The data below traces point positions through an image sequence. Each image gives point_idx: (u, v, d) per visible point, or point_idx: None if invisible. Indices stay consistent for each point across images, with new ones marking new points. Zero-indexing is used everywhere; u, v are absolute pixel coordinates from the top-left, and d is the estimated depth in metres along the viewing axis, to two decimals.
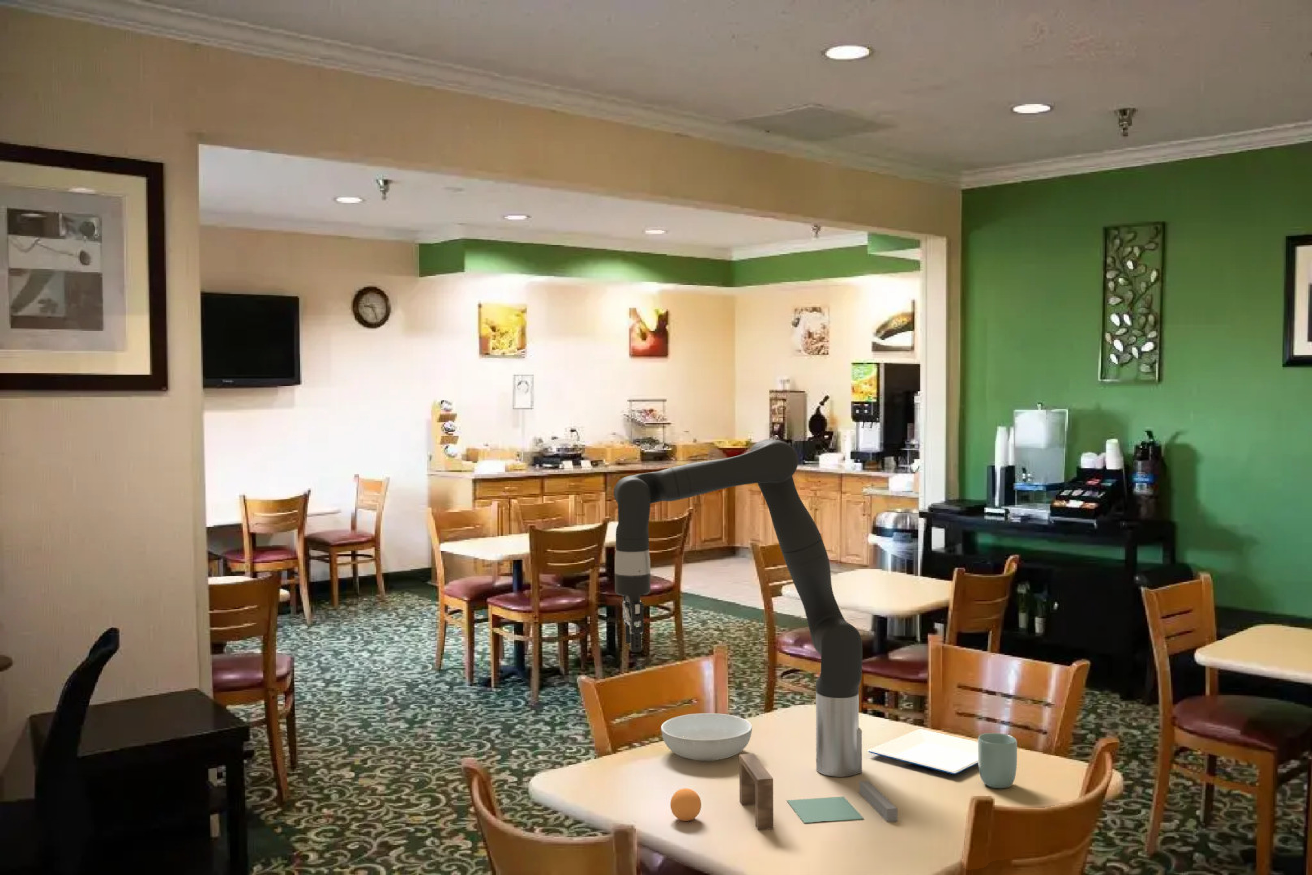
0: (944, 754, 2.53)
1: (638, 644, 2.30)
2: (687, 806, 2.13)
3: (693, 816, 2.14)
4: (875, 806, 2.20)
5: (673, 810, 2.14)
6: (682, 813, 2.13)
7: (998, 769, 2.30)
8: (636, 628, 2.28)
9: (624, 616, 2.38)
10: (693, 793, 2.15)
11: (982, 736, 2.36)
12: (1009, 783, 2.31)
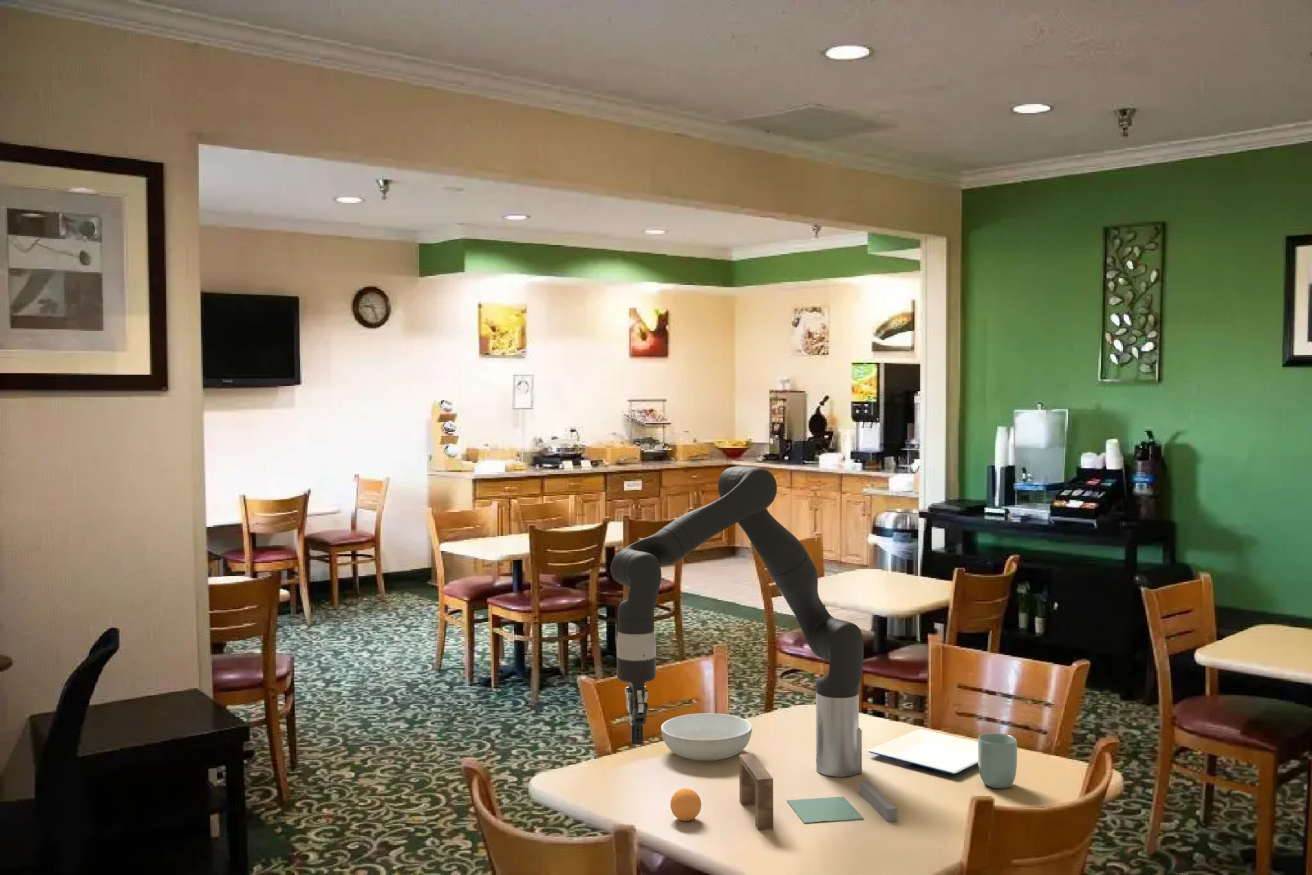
0: (944, 754, 2.53)
1: (639, 736, 2.13)
2: (687, 806, 2.13)
3: (693, 816, 2.14)
4: (875, 806, 2.20)
5: (673, 810, 2.14)
6: (682, 813, 2.13)
7: (998, 769, 2.30)
8: (637, 720, 2.11)
9: None
10: (693, 793, 2.15)
11: (982, 736, 2.36)
12: (1009, 783, 2.31)
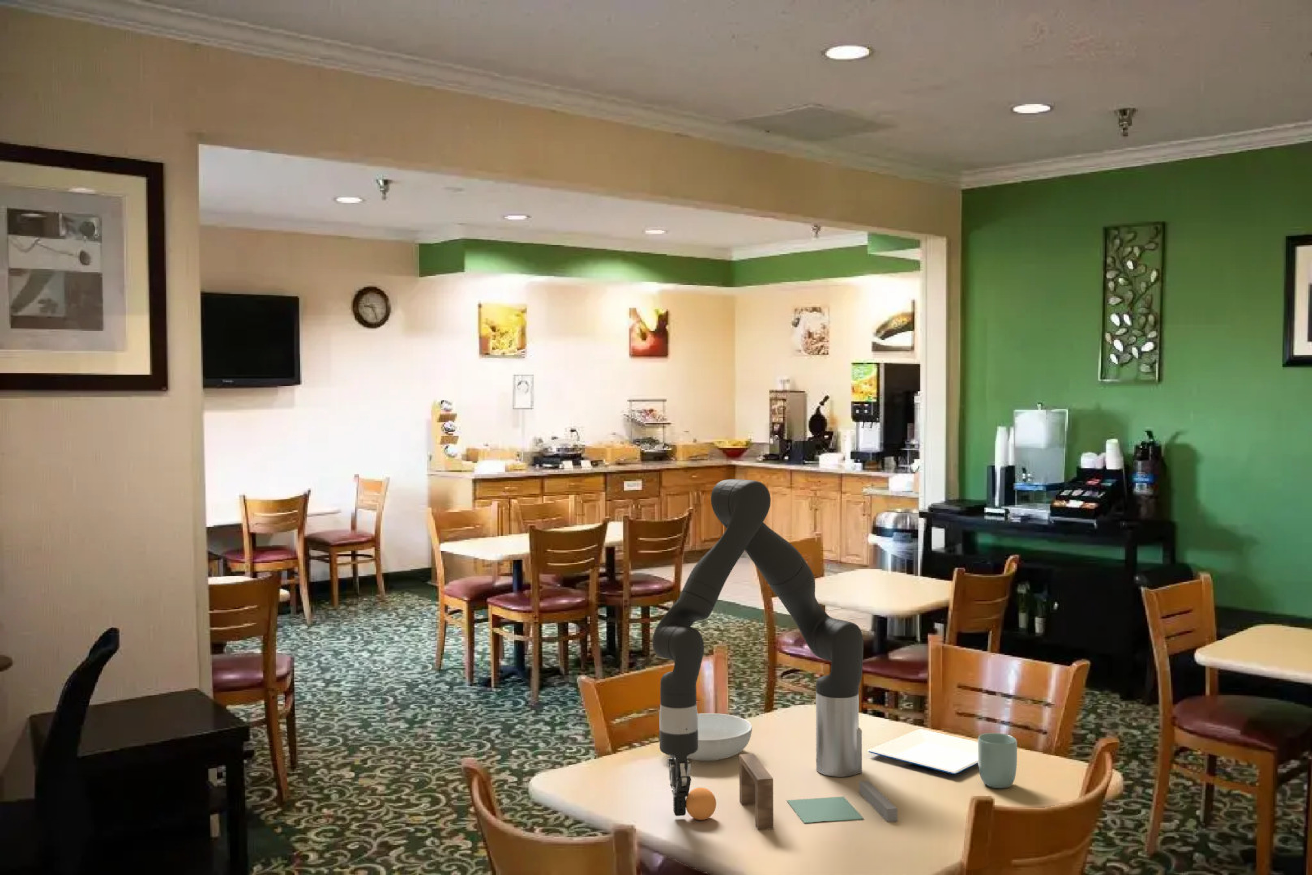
0: (944, 754, 2.53)
1: (682, 808, 2.15)
2: (704, 805, 2.13)
3: (701, 817, 2.14)
4: (875, 806, 2.20)
5: (689, 799, 2.15)
6: (696, 807, 2.14)
7: (998, 769, 2.30)
8: (680, 792, 2.13)
9: (671, 778, 2.17)
10: (714, 799, 2.16)
11: (982, 736, 2.36)
12: (1009, 783, 2.31)
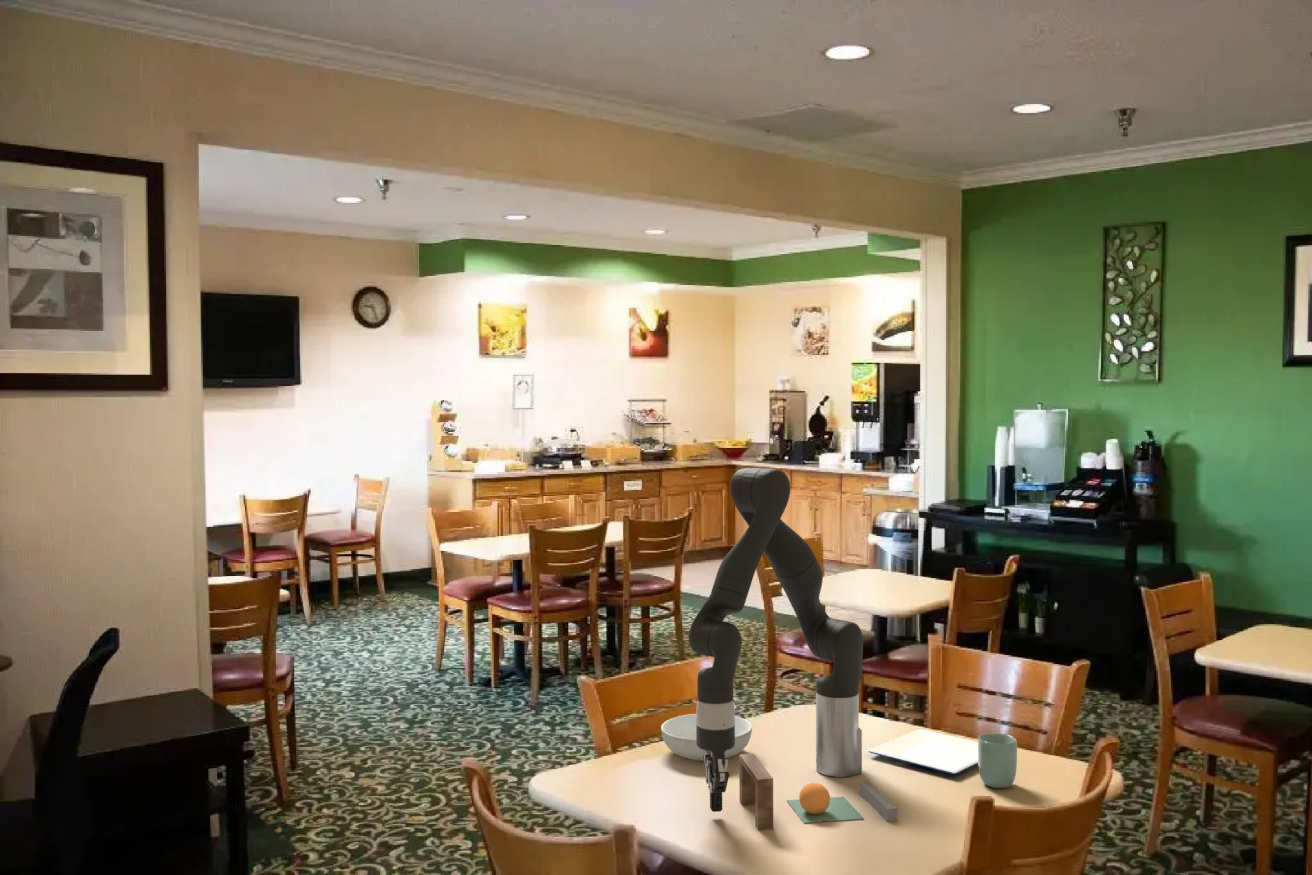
0: (944, 754, 2.53)
1: (719, 804, 2.16)
2: (822, 803, 2.16)
3: (809, 807, 2.16)
4: (875, 806, 2.20)
5: (815, 787, 2.17)
6: (815, 797, 2.16)
7: (998, 769, 2.30)
8: (717, 788, 2.14)
9: (707, 774, 2.17)
10: (826, 808, 2.18)
11: (982, 736, 2.36)
12: (1009, 783, 2.31)
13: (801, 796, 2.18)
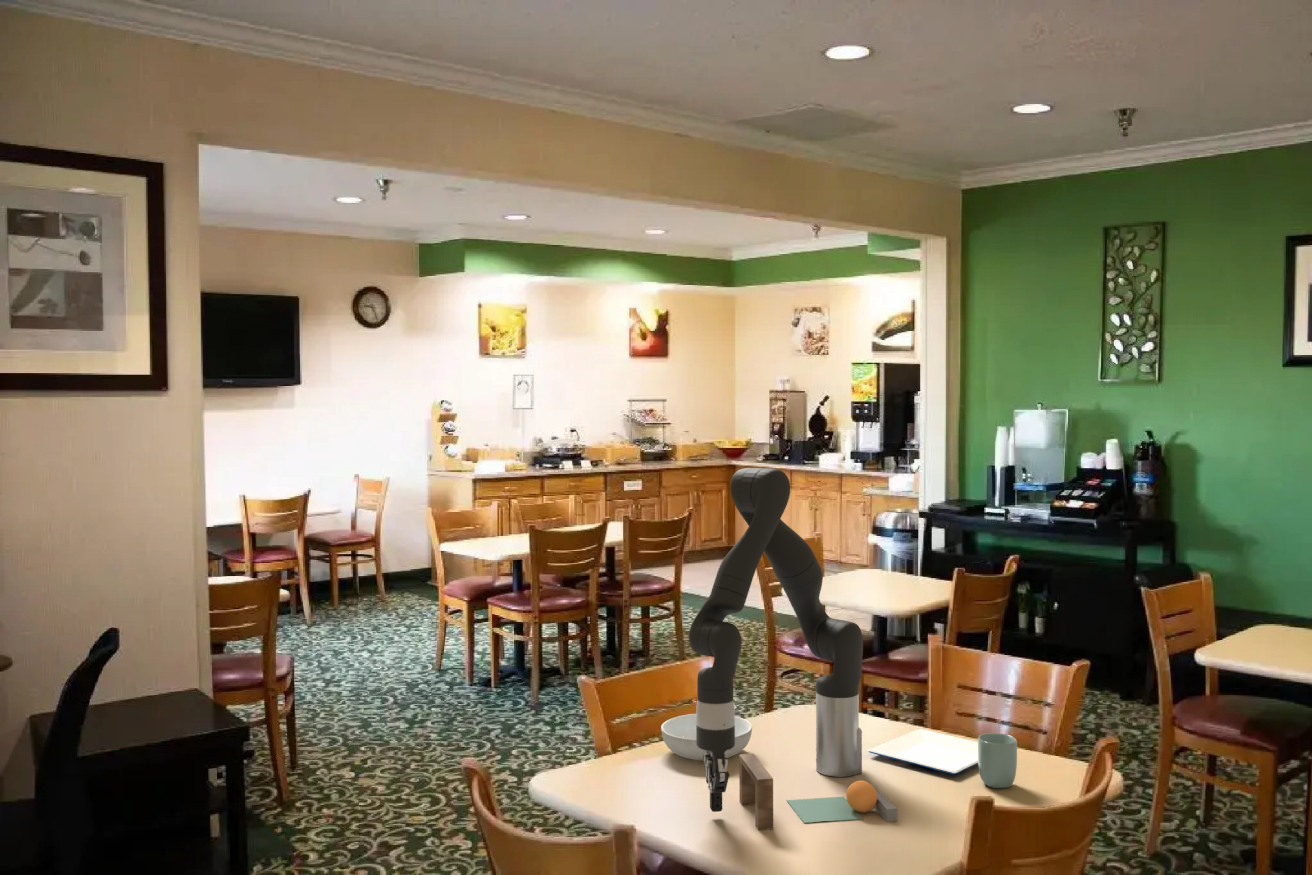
0: (944, 754, 2.53)
1: (719, 804, 2.16)
2: (862, 801, 2.17)
3: (873, 795, 2.17)
4: (875, 806, 2.20)
5: None
6: (867, 807, 2.17)
7: (998, 769, 2.30)
8: (717, 788, 2.14)
9: (707, 774, 2.17)
10: (852, 789, 2.18)
11: (982, 736, 2.36)
12: (1009, 783, 2.31)
13: None
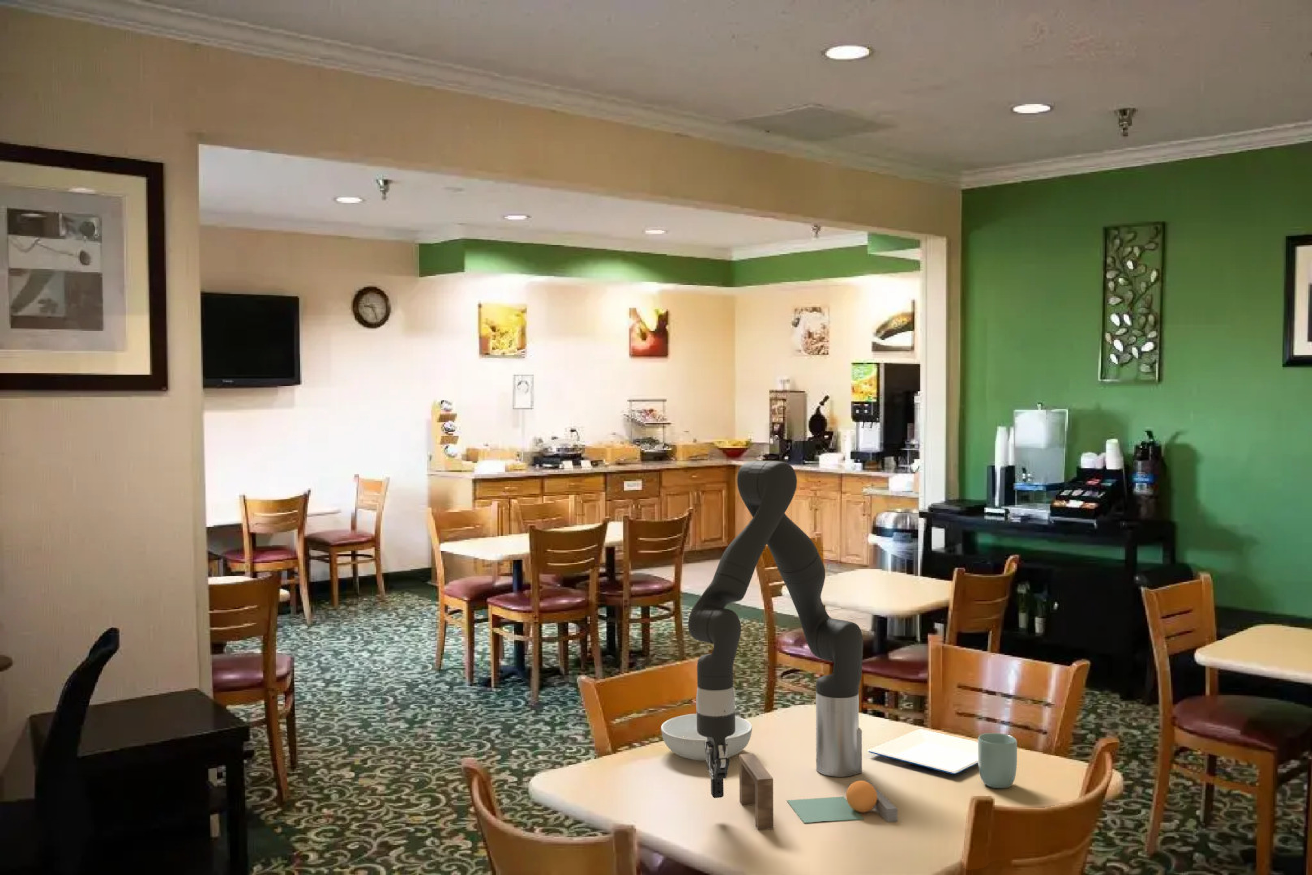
0: (944, 754, 2.53)
1: (720, 790, 2.16)
2: (862, 801, 2.17)
3: (873, 795, 2.17)
4: (875, 806, 2.20)
5: None
6: (867, 807, 2.17)
7: (998, 769, 2.30)
8: (718, 774, 2.14)
9: (708, 760, 2.17)
10: (852, 789, 2.18)
11: (982, 736, 2.36)
12: (1009, 783, 2.31)
13: None
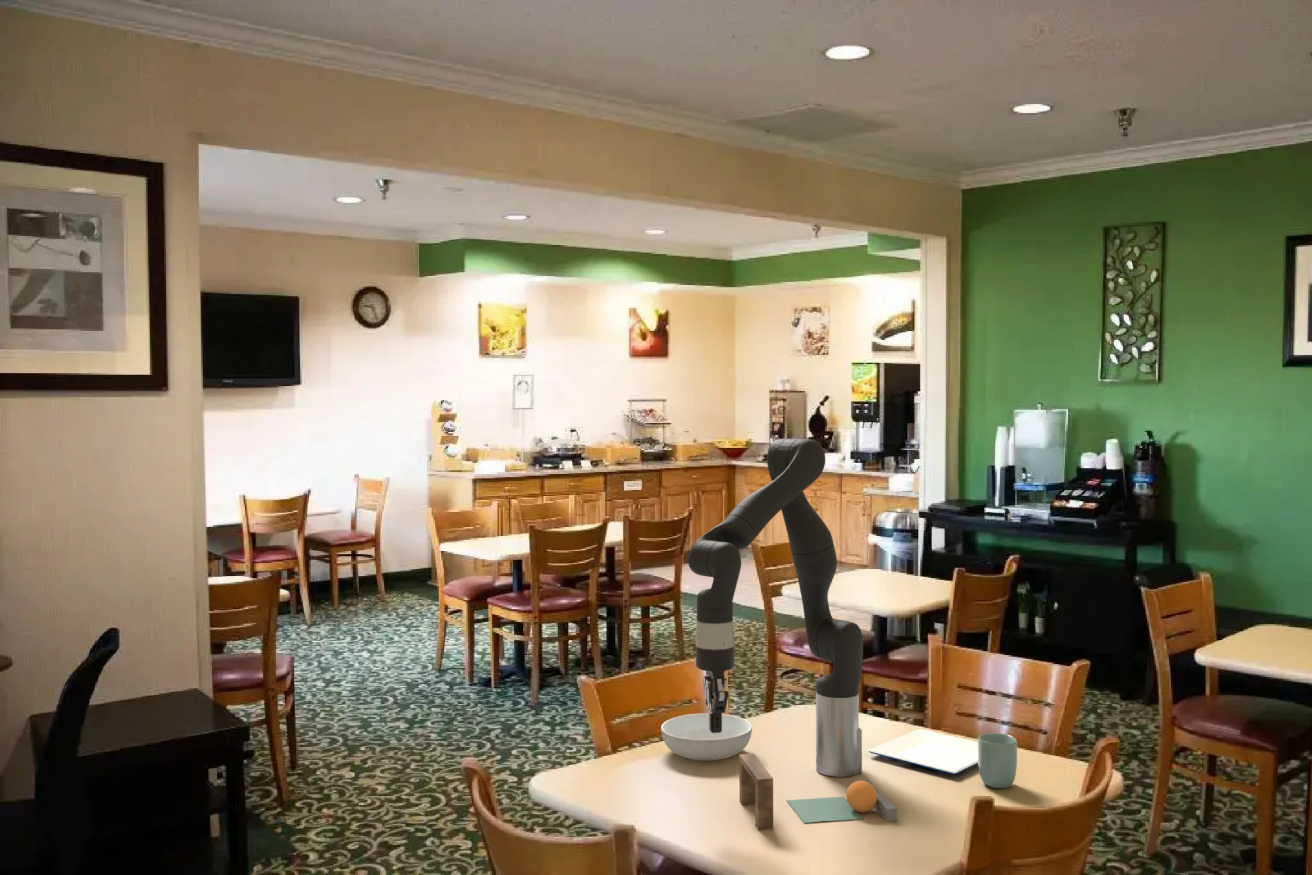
0: (944, 754, 2.53)
1: (718, 725, 2.15)
2: (862, 801, 2.17)
3: (873, 795, 2.17)
4: (875, 806, 2.20)
5: None
6: (867, 807, 2.17)
7: (998, 769, 2.30)
8: (717, 708, 2.13)
9: (707, 696, 2.16)
10: (852, 789, 2.18)
11: (982, 736, 2.36)
12: (1009, 783, 2.31)
13: None
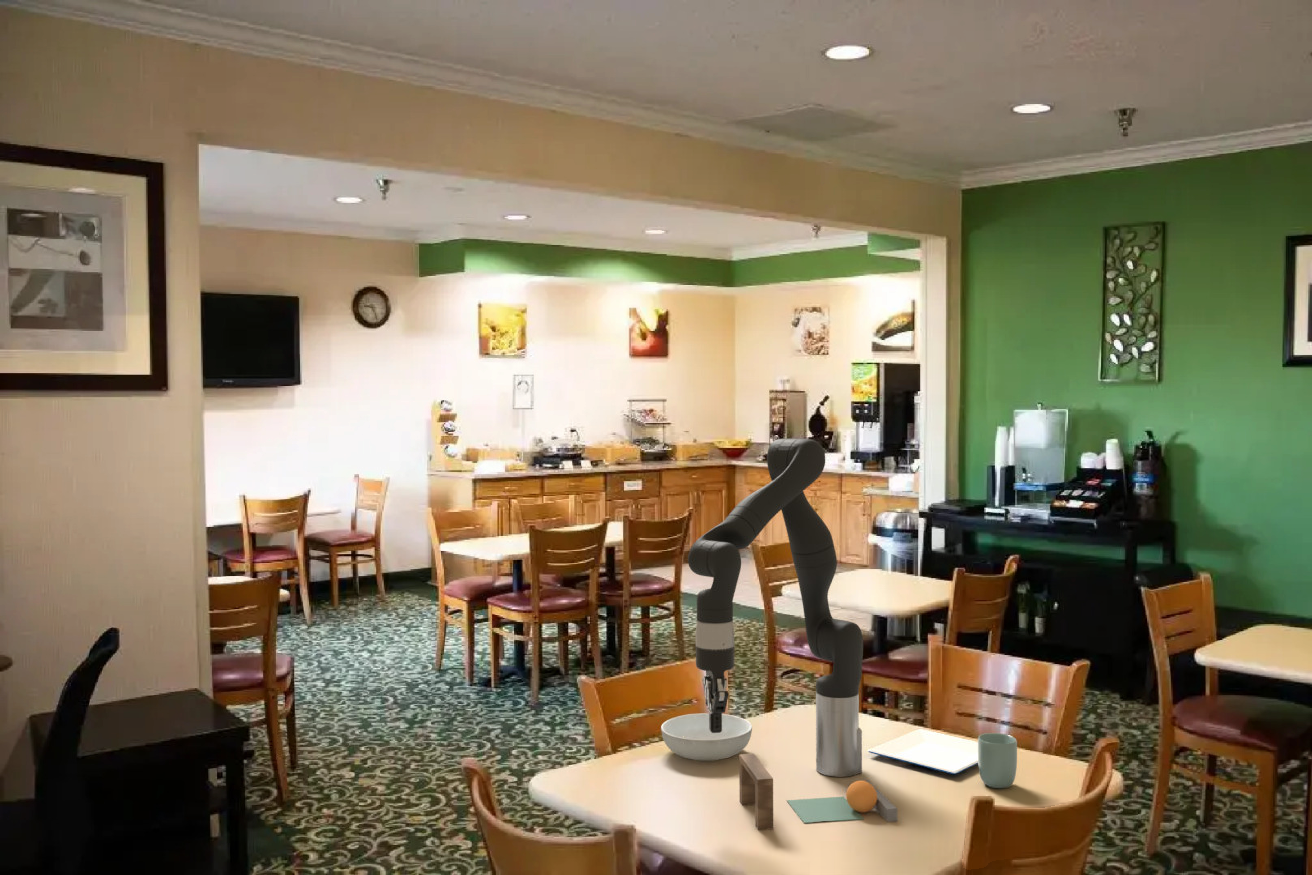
0: (944, 754, 2.53)
1: (718, 724, 2.15)
2: (862, 801, 2.17)
3: (873, 795, 2.17)
4: (875, 806, 2.20)
5: None
6: (867, 807, 2.17)
7: (998, 769, 2.30)
8: (717, 708, 2.13)
9: (707, 695, 2.16)
10: (852, 789, 2.18)
11: (982, 736, 2.36)
12: (1009, 783, 2.31)
13: None
